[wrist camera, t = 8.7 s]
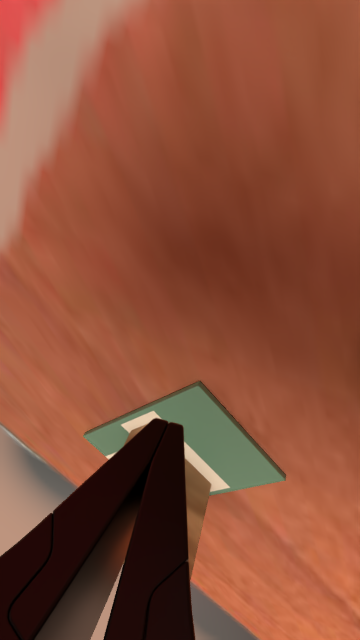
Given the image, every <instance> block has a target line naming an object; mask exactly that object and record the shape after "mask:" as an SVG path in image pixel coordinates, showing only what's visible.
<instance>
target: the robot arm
mask: <svg viewBox="0 0 360 640" xmlns="http://www.w3.org/2000/svg"><path fill="white" fill-rule="evenodd" d="M124 560H125V561H124ZM188 560H189V550H188V525H187V499H186V474H185V449H184V427H183V425H181V424H178V423H174V422H170V423H169V422H168V421H167V420H163V419H159V418H154V419H152V420H151V421H150V422H149V423H148V424H147V425H146V426H145V427H144V428H143V429H142V430H140V431H139V432H138V433H137V434H136V435H135V436H134V437H133V438H132V439H131V440H130V441H128V442H127V443H126V444H125V445H124V446H123V447H122V448H121V449H120V450H119V451H118V452H117V453H115V454H114V455H113V456H112V457H111V458H110V459H109V460H108V461H107V462H106V463H105V464H103V465H102V466H101V467H100V468H99V469H98V470H97V471H96V472H95V473H94V474H93V475H92V476H90V477H89V478H88V479H87V480H86V481H85V482H84V483H83V484H82V485H81V486H80V487H78V488H77V489H76V490H75V491H74V492H73V493H72V494H71V495H70V496H69V497H68V498H67V499H66V500H65V501H63V502H62V503H61V504H60V505H59V506H58V507H57V508H56V509H55V510H54V511H53V513H50V514H49V515H48V516H47V517H46V518H45V519H44V520H42V522H40V523H39V524H38V525H37V526H36V527H35V528H34V529H33V530H31V531H30V532H29V533H28V534H27V535H26V536H25V537H23V538H22V539H21V540H20V541H19V542H18V543H17V544H15V545H14V546H13V547H12V548H10V549H9V550H8V551H6V552H5V553H4V554H3V555H1V556H0V640H90V639H91V636H92V634H93V632H94V630H95V627H96V625H97V623H98V620H99V618H100V616H101V613H102V611H103V609H104V607H105V604H106V602H107V600H108V597H109V595H110V592H111V590H112V588H113V586H114V583H115V581H116V579H117V576H118V574H119V572H120V569H121V567H122V565H123V563H124V565H123V568H122V572H121V576H120V580H119V584H118V587H117V591H116V595H115V598H114V602H113V606H112V609H111V613H110V617H109V621H108V625H107V628H106V632H105V636H104V640H195V633H194V624H193V616H192V605H191V591H190V571H189V562H188Z"/></svg>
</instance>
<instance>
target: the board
mask: <svg viewBox="0 0 360 640" xmlns="http://www.w3.org/2000/svg"><path fill="white" fill-rule="evenodd" d="M154 418H159V419H163V420H167V421H168V422H169V423H170V422H174V423H178V424H181V425H183V427H184V449H185V459H187V460H188V461H189V462H190V463H191V464H192V465H193V466H194V467H195V468H196V469H197V470H198V471H199V472H200V473H201V474H202V475H203V476H204V477H205V478H206V479H207V480H208V481H209V482H210V483H211V489H210V493H209V496H210V495H215V494H220V493H225V492H230V491H235V490H240V489H245V488H250V487H255V486H260V485H265V484H270V483H275V482H280V481H285V480H286V475H285V474H284V473H283V472H282V471H281V469H280V468H279V467H278V466H277V465H276V464H275V463H274V462H273V461H272V460H271V458H270V457H269V456H268V455H267V454H266V453H265V452H264V451H263V450H262V449H261V447H260V446H259V445H258V444H257V443H256V442H255V441H254V440H253V439H252V438H251V436H250V435H249V434H248V433H247V432H246V431H245V430H244V429H243V428H242V427H241V426H240V424H239V423H238V422H237V421H236V420H235V419H234V418H233V417H232V416H231V415H230V413H229V412H228V411H227V410H226V409H225V408H224V407H223V406H222V405H221V404H220V402H219V401H218V400H217V399H216V398H215V397H214V396H213V395H212V394H211V393H210V392H209V390H208V389H207V388H206V387H205V386H204V385H203V384H202V383H201V382H200V381H198V382H196V383H194V384H192V385H190V386H187V387H185V388H183V389H181V390H178V391H176V392H174V393H172V394H170V395H167V396H165V397H163V398H161V399H158V400H156V401H154V402H152V403H150V404H147V405H145V406H143V407H141V408H138V409H136V410H134V411H132V412H129V413H127V414H125V415H123V416H121V417H118V418H116V419H114V420H112V421H109V422H107V423H105V424H103V425H101V426H98V427H96V428H94V429H92V430H89V431H87V432H85V434H84V435H83V437H84V438H86V439H87V440H88V441H89V442H90V443H91V444H92V445H93V446H94V447H96V448H97V449H98V450H99V451H100V452H101V453H102V454H103V455H105V456H106V457H107V458H108V459H110V458H111V457H112V456H113V455H114V454H115V453H117V452H118V451H119V450H120V449H121V448H122V447H123V446H124V444H125V442H126V440H127V438H128V436H129V434H130V432H131V430H133V429H136V428H138V427H141V426H143V425H146V424H148V423H149V422H150V421H151V420H152V419H154Z"/></svg>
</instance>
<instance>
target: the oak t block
mask: <svg viewBox="0 0 360 640" xmlns="http://www.w3.org/2000/svg"><path fill="white" fill-rule="evenodd" d="M146 425H147V424H146ZM146 425H143V426H141V427H138V428H136V429H133V430H131V432H130V434H129V436H128V438H127V440H126V442H125V444H126V443H127V442H128V441H130V440H131V439H132V438H133V437H134V436H135V435H136V434H137V433H138V432H139V431H140V430H142V429H143V428H144V427H145V426H146ZM125 444H124V445H125ZM185 474H186V499H187V525H188V550H189V560H188V562H189V571H190V579H191V575H192V570H193V566H194V561H195V557H196V552H197V548H198V543H199V539H200V534H201V530H202V525H203V520H204V516H205V511H206V507H207V502H208V498H209V493H210V489H211V483H210V482H209V481H208V480H207V479H206V478H205V477H204V476H203V475H202V474H201V473H200V472H199V471H198V470H197V469H196V468H195V467H194V466H193V465H192V464H191V463H190V462H189V461H188V460H187V459H185ZM124 561H125V560H124ZM123 564H124V563H123Z"/></svg>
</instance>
